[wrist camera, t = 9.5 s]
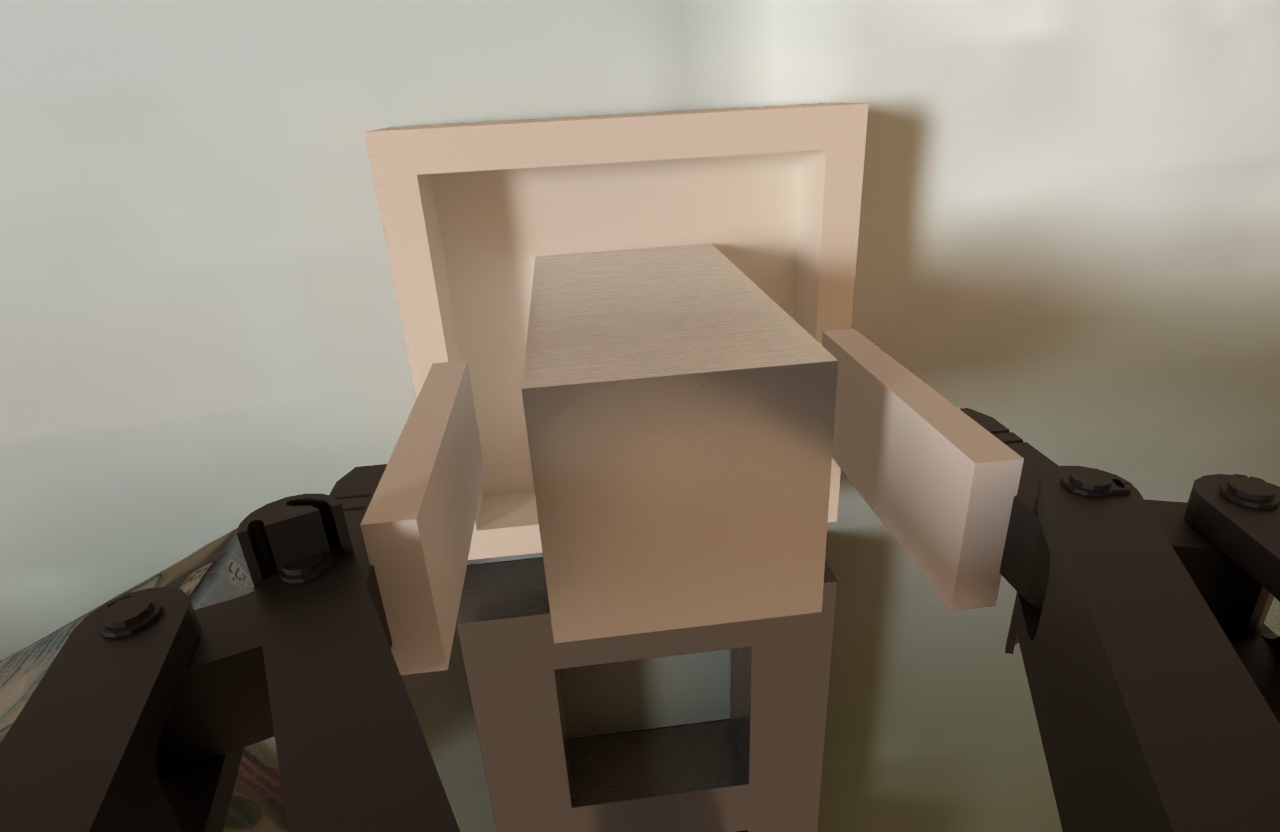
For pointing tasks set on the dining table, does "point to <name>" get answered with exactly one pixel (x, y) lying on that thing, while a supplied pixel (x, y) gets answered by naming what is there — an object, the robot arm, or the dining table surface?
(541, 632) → the rack
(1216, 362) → the dining table surface
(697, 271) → the tan rectangular block
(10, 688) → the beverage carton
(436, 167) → the tray
